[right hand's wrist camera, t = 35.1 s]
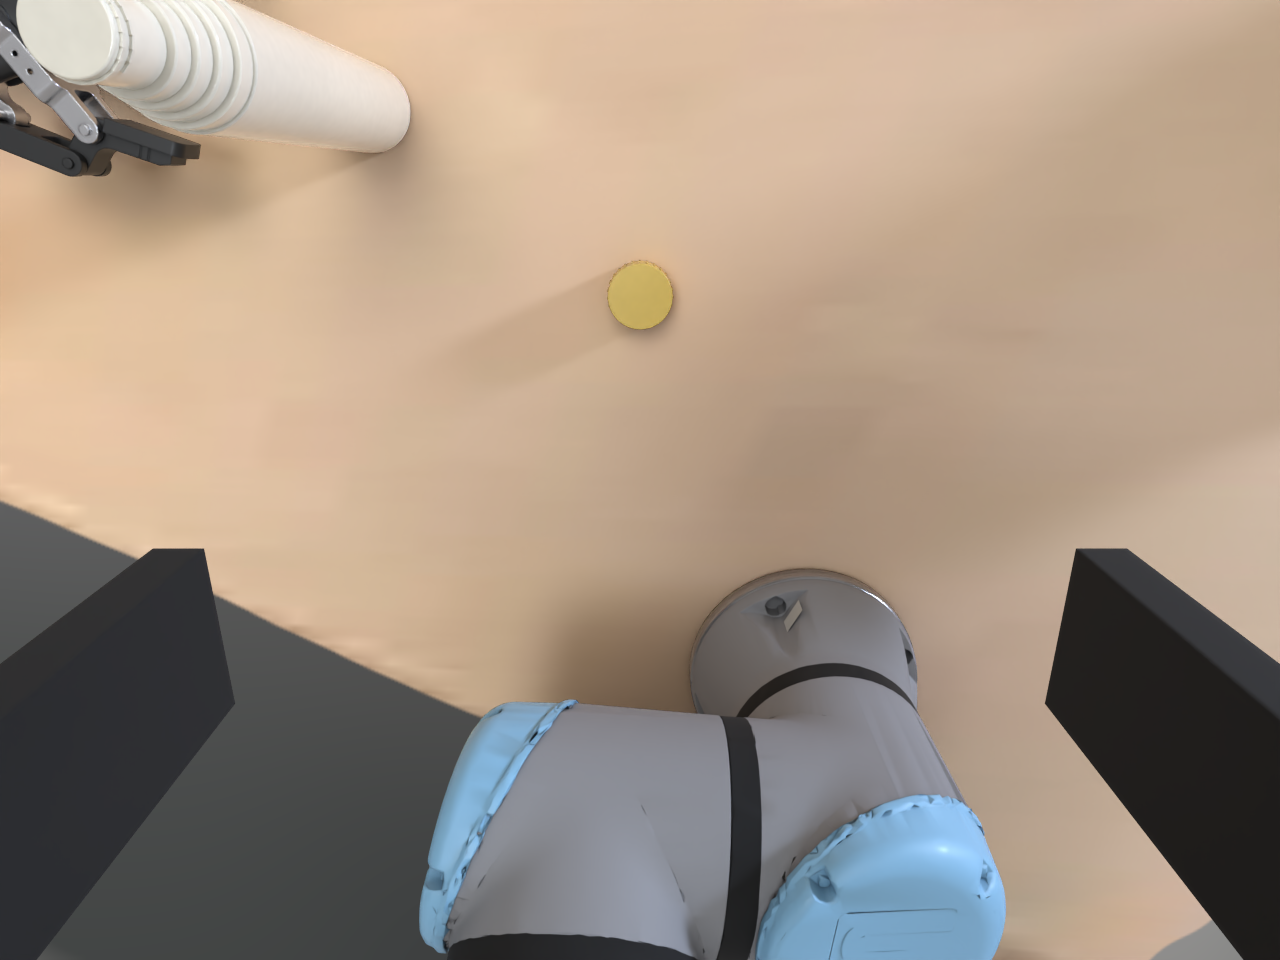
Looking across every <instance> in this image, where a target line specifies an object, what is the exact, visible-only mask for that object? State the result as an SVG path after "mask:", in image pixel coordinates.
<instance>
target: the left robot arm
mask: <svg viewBox="0 0 1280 960" xmlns="http://www.w3.org/2000/svg"><path fill="white" fill-rule="evenodd" d="M17 1H18V0H0V149H2V150H4V151H7V152H9V153H12V154H14V155H17V156H19V157H22V158H24V159H27V160H29V161H32V162H35V163H37V164H40V165H42V166H45V167H47V168H50V169H52V170H55V171H57V172H60V173H62V174H65V175H67V176H82V175H93V176H106V175H108V174H109V173H110V171H111V168H112V165H111V161H110V160H111V158H112V156H113V154H114V153H115V152H116V151H119V152H122V153H125V154H128V155H130V156H133V157H136V158H140V159H142V160H145V161H149V162H151V163H154V164H157V165H162V166H178V165H185V164H186V159H199V154H200V146H201V145H200V144H198V143H195V142H192V141H189V140H187V139H184V138H181V137H178V136H175V135H172V134H169V133H166V132H163V131H160V130H158V129H155V128H152V127H149V126H146V125H143V124H140V123H137V122H134V121H131V120H123V119H119V118H118V117H117V116H116V115H115V114H114V112H113V111H112V110H111V109H110V108H109V106H108V105H107V104H106V103H105V101H104V100H103V99H102V98H101V96H100V89H99V88H98V86H97V85H84V86H82V85H78V84H73V83H68V82H66V81H64V80H62V79H60V78H58V77H56V76H55V75H54V74H53V73H51V72H50V71H48V70H47V69H45V68H44V67H43V66H42V65H41V64H40V63H38V62H37V61H36V59H35V58H34V57H33V56H32V55H31V53H30V52H29V51H28V49H27V48H26V46H25V44H24V42H23V40H22V38H21V35H20V33H19V30H18V25H17V18H16V7H17ZM21 83H25V85H26V86H27V87H28V88H29V89H30V91H31V92H32V93H33V94H34V95H35V96H36V97H37V98H38V99H39V100H40V101H42V102H43V103H45V104H47V105H49V106H50V107H51V108H52V109H53V110H54V111H55V112H56V113H57V115H58V116H59V117H60V118H61V119H62V121H63V122H64V123H65V124H66V125H67V127H68V128H69V129H70V130H71V131H72V132H73V134H74V137H73V139H72V140H70V139H68V138H65V137H63V136H60V135H58V134H55V133H53V132H50V131H48V130H45V129H43V128H40V127H38V126H35V125H33V124H30V122H31V116H30V115H29V114H28V113H26V111H25V110H24V109H23V108H22V107H21V106H19V105H18V104H16V103H15V102H14V101H13V100H12V99H11V98H10V96H9V93H8V86H15V85H18V84H21Z"/></svg>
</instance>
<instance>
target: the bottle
mask: <svg viewBox="0 0 1280 960" xmlns="http://www.w3.org/2000/svg"><path fill="white" fill-rule="evenodd" d="M16 18H17V25H18V30H19V33H20V35H21V38H22V40H23V42H24V44H25V46H26V48H27V49H28V51H29V52H30V53H31V55H32V56H33V57H34V58H35V59H36V61H37V62H38V63H40V64H41V65H42V66H43V67H44V68H45V69H47V70H48V71H50V72H51V73H53V74H54V75H55V76H56V77H58V78H60V79H62V80H64V81H66V82H68V83H73V84H78V85H82V86H84V85H99V86H100V87H101V88H102V89H104V90H105V91H107V92H109V93H110V94H112V95H114V96H115V97H117V98H118V99H119V100H121V101H123V102H124V103H126V104H128V105H129V106H131V107H132V108H133V109H135V110H137V111H138V112H140V113H141V114H143V115H144V116H145V117H147V118H149V119H150V120H152V121H154V122H156V123H158V124H160V125H163V126H166V127H169V128H172V129H175V130H177V131H180V132H183V133H187V134H194V135H203V136H212V137H222V138H231V139H241V140H250V141H260V142H269V143H279V144H288V145H298V146H307V147H316V148H326V149H335V150H345V151H354V152H364V153H381V152H384V151H387V150H389V149H391V148H393V147H394V146H396V145H397V144H398V143H399V142H400V141H401V140H402V139H403V137H404V135H405V134H406V132H407V129H408V126H409V123H410V113H411V111H410V103H409V99H408V96H407V93H406V91H405V89H404V87H403V85H402V84H401V82H400V81H399V80H398V78H397V77H396V76H395V75H394V74H393V73H391V72H390V71H389V70H387V69H386V68H384V67H382V66H380V65H378V64H376V63H373V62H371V61H369V60H367V59H364V58H362V57H360V56H358V55H356V54H353V53H351V52H349V51H347V50H344V49H342V48H340V47H338V46H335V45H333V44H331V43H329V42H326V41H324V40H322V39H320V38H317V37H315V36H313V35H311V34H309V33H306V32H304V31H302V30H300V29H297V28H295V27H293V26H291V25H288V24H286V23H284V22H282V21H279V20H277V19H275V18H273V17H270V16H268V15H266V14H264V13H262V12H259V11H257V10H255V9H253V8H250V7H248V6H246V5H244V4H241V3H239V2H237V1H235V0H18V1H17V7H16Z"/></svg>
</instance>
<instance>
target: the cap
mask: <svg viewBox="0 0 1280 960" xmlns="http://www.w3.org/2000/svg"><path fill="white" fill-rule="evenodd" d="M670 283H671V282H670V279H668V277H667V274H666V273H664V272H663V271H662V269H661V267H660V268H659V267H658V266H656V265H655V263H653V264H652V263H649V262H648V261H646V262H645V261H640V260H639V261H635V262H633V261H631V263H628V264H624V266H623V267H621V268H619V269H618V271H617V272H616V273H615V274H613V278H612V280H610V283H609V284H610V286H609V287H608V291H607V292H608V297H607V300H608V303H609V307H610V310H611V312H612V314H613V315H614V317H615V318H616V319H617V320H618V321H619V322H620V323H622V324H623V325H625V326H627V327H629V328H632V329H648V328H651V327H654V326H656V325H657V324H659V323H660V322H661V321H662V320H663V319H665V317H666V316H667V314H668V313H669V310H670V308H671V306H672V298H673V294H672V291H673V289H672V286H671V285H670Z"/></svg>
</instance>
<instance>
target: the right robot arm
mask: <svg viewBox="0 0 1280 960" xmlns="http://www.w3.org/2000/svg"><path fill="white" fill-rule="evenodd" d="M690 683H691V692H692V697H693V702H694V705H695V708H696V711H697V713H698V714H696V713H684V712H672V711H661V710H650V709H638V708H627V707H616V706H604V705H593V704H582V703H579V702H578V701H577V700H565V701H562V702H560V703H537V702H509V703H504V704H501V705H499V706H497V707H495V708H493V709H492V710H490V711H489V712H488V713H487V714H486V715H484V717H483V718H482V719H481V720H480V722H479V723H478V724H477V726H476V727H475V728H474V729H473V731H472V732H471V734H470V736H469V738H468V740H467V742H466V744H465V746H464V748H463V750H462V752H461V754H460V756H459V759H458V761H457V763H456V766H455V769H454V771H453V774H452V776H451V779H450V782H449V785H448V788H447V791H446V794H445V797H444V800H443V803H442V806H441V810H440V813H439V817H438V820H437V824H436V827H435V831H434V835H433V839H432V843H431V847H430V852H429V857H428V863H429V865H430V868H429V870H428V871H427V875H426V879H425V883H424V886H423V891H422V895H421V902H420V914H419V924H420V932H421V935H422V937H423V939H424V941H425V942H426V944H428V945H429V946H432V947H434V949H435V950H436V951H437V952H439V953H447V951H449V952H448V958H447V960H992V958H993V956H994V954H995V952H996V950H997V948H998V945H999V942H1000V940H1001V936H1002V933H1003V929H1004V923H1005V914H1006V905H1005V894H1004V888H1003V884H1002V881H1001V878H1000V875H999V873H998V870H997V868H996V865H995V863H994V860H993V858H992V855H991V853H990V850H989V848H988V845H987V843H986V840H985V838H984V831H983V829H982V826H981V823H980V822H979V820H978V818H977V816H976V815H975V814H974V813H973V812H972V810H971V809H970V808H968V806H967V804H966V802H965V800H964V798H963V796H962V794H961V793H960V791H959V789H958V787H957V785H956V783H955V781H954V779H953V778H952V776H951V774H950V772H949V770H948V768H947V766H946V765H945V763H944V761H943V759H942V757H941V755H940V753H939V751H938V750H937V748H936V746H935V744H934V742H933V740H932V738H931V736H930V735H929V733H928V731H927V729H926V727H925V725H924V723H923V721H922V720H921V718H920V716H919V714H918V712H917V666H916V659H915V655H914V651H913V647H912V643H911V641H910V638H909V635H908V633H907V631H906V629H905V627H904V626H903V624H902V622H901V621H900V619H899V617H898V616H897V614H896V613H895V611H894V610H893V608H892V607H891V606H890V605H889V603H888V602H887V601H886V600H885V599H884V598H883V597H882V596H881V595H880V594H878V593H877V592H876V591H874V590H873V589H872V588H870V587H869V586H867V585H865V584H864V583H862V582H860V581H858V580H856V579H854V578H851V577H849V576H846V575H843V574H840V573H836V572H832V571H825V570H817V569H796V570H787V571H782V572H777V573H773V574H770V575H766V576H763V577H761V578H758V579H756V580H753V581H751V582H749V583H747V584H745V585H744V586H742V587H740V588H739V589H737V590H735V591H734V592H733V593H731V594H730V595H729V596H727V597H726V598H725V599H724V600H723V601H722V602H720V603H719V604H718V605H717V606H716V608H715V609H714V610H713V611H712V612H711V613H710V615H709V616H708V617H707V619H706V620H705V621H704V623H703V625H702V626H701V628H700V630H699V632H698V634H697V636H696V639H695V642H694V645H693V648H692V652H691V658H690ZM234 704H235V701H234V696H233V691H232V686H231V681H230V676H229V671H228V666H227V661H226V656H225V651H224V646H223V641H222V636H221V631H220V627H219V621H218V616H217V611H216V606H215V601H214V596H213V591H212V587H211V582H210V577H209V572H208V567H207V562H206V557H205V552H204V549H152V550H151V551H149V552H148V553H147V554H145V555H144V556H143V557H141V558H140V559H139V560H137V561H136V562H135V563H133V564H132V565H131V566H129V567H128V568H127V569H125V570H124V571H123V572H121V573H120V574H119V575H117V576H116V577H115V578H113V579H112V580H111V581H109V582H108V583H107V584H106V585H104V586H103V587H102V588H100V589H99V590H98V591H96V592H95V593H94V594H92V595H91V596H90V597H88V598H87V599H86V600H84V601H83V602H82V603H80V604H79V605H78V606H76V607H75V608H74V609H72V610H71V611H70V612H68V613H67V614H66V615H65V616H63V617H62V618H60V619H59V620H58V621H57V622H55V623H54V624H53V625H51V626H50V627H49V628H47V629H46V630H45V631H43V632H42V633H41V634H39V635H38V636H37V637H35V638H34V639H33V640H31V641H30V642H29V643H27V644H26V645H25V646H23V647H22V648H21V649H20V650H18V651H17V652H15V653H14V654H13V655H12V656H10V657H9V658H8V659H6V660H5V661H4V662H2V663H1V664H0V960H37V958H38V957H39V956H40V955H41V953H42V952H43V951H44V949H45V948H46V947H47V946H48V944H49V943H50V942H51V940H52V939H53V938H54V936H55V935H56V934H57V933H58V931H59V930H60V929H61V927H62V926H63V925H64V924H65V922H66V921H67V920H68V918H69V917H70V916H71V915H72V913H73V912H74V911H75V909H76V908H77V907H78V906H79V904H80V903H81V902H82V900H83V899H84V898H85V896H86V895H87V894H88V893H89V891H90V890H91V889H92V887H93V886H94V885H95V884H96V882H97V881H98V880H99V878H100V877H101V876H102V875H103V873H104V872H105V871H106V869H107V868H108V867H109V866H110V864H111V863H112V862H113V860H114V859H115V858H116V856H117V855H118V854H119V853H120V851H121V850H122V849H123V847H124V846H125V845H126V843H127V842H128V841H129V840H130V838H131V837H132V836H133V834H134V833H135V832H136V831H137V829H138V828H139V827H140V825H141V824H142V823H143V822H144V820H145V819H146V818H147V816H148V815H149V814H150V813H151V811H152V810H153V809H154V807H155V806H156V805H157V804H158V802H159V801H160V800H161V798H162V797H163V796H164V794H165V793H166V792H167V791H168V789H169V788H170V787H171V785H172V784H173V783H174V782H175V780H176V779H177V778H178V776H179V775H180V774H181V773H182V771H183V770H184V769H185V767H186V766H187V765H188V764H189V762H190V761H191V760H192V758H193V757H194V756H195V755H196V753H197V752H198V751H199V749H200V748H201V747H202V745H203V744H204V743H205V742H206V740H207V739H208V738H209V736H210V735H211V734H212V732H213V731H214V730H215V729H216V727H217V726H218V725H219V724H220V722H221V721H222V720H223V718H224V717H225V716H226V714H227V713H228V712H229V711H230V709H231V708H232V707H233V705H234ZM1045 704H1046V705H1047V707H1048V708H1049V709H1050V711H1051V712H1052V713H1053V715H1054V716H1055V717H1056V718H1057V720H1058V721H1059V722H1060V724H1061V725H1062V726H1063V727H1064V729H1065V730H1066V731H1067V733H1068V734H1069V735H1070V736H1071V738H1072V739H1073V740H1074V742H1075V743H1076V744H1077V745H1078V747H1079V748H1080V749H1081V751H1082V752H1083V753H1084V755H1085V756H1086V757H1087V758H1088V760H1089V761H1090V762H1091V764H1092V765H1093V766H1094V767H1095V769H1096V770H1097V771H1098V773H1099V774H1100V775H1101V776H1102V778H1103V779H1104V780H1105V782H1106V783H1107V784H1108V785H1109V787H1110V788H1111V789H1112V791H1113V792H1114V793H1115V795H1116V796H1117V797H1118V798H1119V800H1120V801H1121V802H1122V804H1123V805H1124V806H1125V807H1126V809H1127V810H1128V811H1129V813H1130V814H1131V815H1132V816H1133V818H1134V819H1135V820H1136V822H1137V823H1138V824H1139V826H1140V827H1141V828H1142V829H1143V831H1144V832H1145V833H1146V835H1147V836H1148V837H1149V838H1150V840H1151V841H1152V842H1153V844H1154V845H1155V846H1156V847H1157V849H1158V850H1159V851H1160V853H1161V854H1162V855H1163V856H1164V858H1165V859H1166V860H1167V862H1168V863H1169V864H1170V866H1171V867H1172V868H1173V869H1174V871H1175V872H1176V873H1177V875H1178V876H1179V877H1180V878H1181V880H1182V881H1183V882H1184V884H1185V885H1186V886H1187V887H1188V889H1189V890H1190V891H1191V893H1192V894H1193V895H1194V896H1195V898H1196V899H1197V900H1198V902H1199V903H1200V904H1201V906H1202V907H1203V908H1204V909H1205V911H1206V912H1207V913H1208V915H1209V916H1210V917H1211V918H1212V920H1213V921H1214V922H1215V924H1216V925H1217V926H1218V927H1219V929H1220V930H1221V931H1222V933H1223V934H1224V935H1225V936H1226V938H1227V939H1228V940H1229V942H1230V943H1231V944H1232V946H1233V947H1234V948H1235V949H1236V951H1237V952H1238V953H1239V954H1240V956H1241V957H1242V958H1243V960H1280V664H1279V663H1278V662H1276V661H1275V660H1274V659H1272V658H1271V657H1270V656H1269V655H1267V654H1266V653H1265V652H1263V651H1262V650H1261V649H1259V648H1258V647H1257V646H1255V645H1254V644H1253V643H1251V642H1250V641H1249V640H1247V639H1246V638H1245V637H1243V636H1242V635H1241V634H1239V633H1238V632H1237V631H1235V630H1234V629H1233V628H1231V627H1230V626H1229V625H1227V624H1226V623H1225V622H1223V621H1222V620H1221V619H1220V618H1218V617H1217V616H1216V615H1214V614H1213V613H1212V612H1210V611H1209V610H1208V609H1206V608H1205V607H1204V606H1202V605H1201V604H1200V603H1198V602H1197V601H1196V600H1194V599H1193V598H1192V597H1190V596H1189V595H1188V594H1186V593H1185V592H1184V591H1182V590H1181V589H1180V588H1178V587H1177V586H1176V585H1174V584H1173V583H1172V582H1171V581H1169V580H1168V579H1167V578H1165V577H1164V576H1163V575H1161V574H1160V573H1159V572H1157V571H1156V570H1155V569H1153V568H1152V567H1151V566H1149V565H1148V564H1147V563H1145V562H1144V561H1143V560H1141V559H1140V558H1139V557H1137V556H1136V555H1135V554H1133V553H1132V552H1131V551H1129V550H1128V549H1076V552H1075V557H1074V562H1073V567H1072V572H1071V577H1070V582H1069V587H1068V591H1067V596H1066V601H1065V606H1064V611H1063V616H1062V621H1061V626H1060V631H1059V636H1058V641H1057V646H1056V651H1055V656H1054V661H1053V666H1052V671H1051V676H1050V681H1049V686H1048V691H1047V696H1046V701H1045Z"/></svg>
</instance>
